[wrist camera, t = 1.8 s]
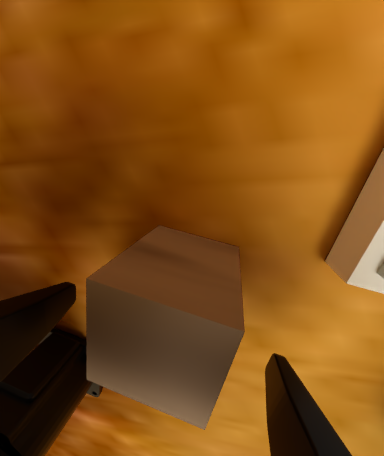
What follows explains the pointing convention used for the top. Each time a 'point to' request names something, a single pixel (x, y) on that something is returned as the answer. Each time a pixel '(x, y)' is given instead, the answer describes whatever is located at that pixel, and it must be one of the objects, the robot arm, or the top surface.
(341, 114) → the top surface
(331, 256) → the base
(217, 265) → the block
